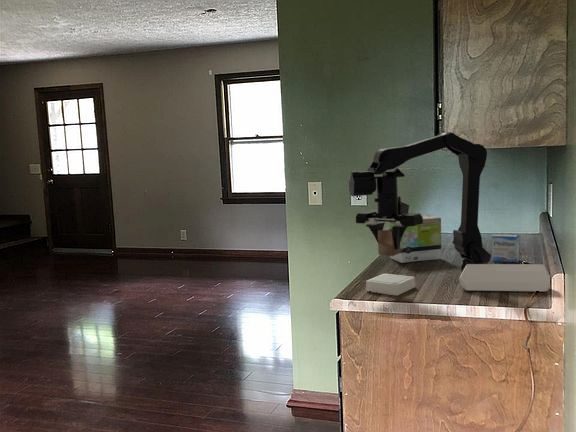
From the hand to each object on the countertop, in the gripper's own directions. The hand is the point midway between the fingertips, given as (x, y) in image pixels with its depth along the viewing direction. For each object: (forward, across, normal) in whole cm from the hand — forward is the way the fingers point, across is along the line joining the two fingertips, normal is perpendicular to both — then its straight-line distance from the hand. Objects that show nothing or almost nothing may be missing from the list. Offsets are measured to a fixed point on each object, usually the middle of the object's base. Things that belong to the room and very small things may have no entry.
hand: (389, 248), depth 169 cm
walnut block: (+2, 0, 0) cm, 2 cm away
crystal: (+12, -27, -14) cm, 33 cm away
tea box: (+12, +13, -39) cm, 43 cm away
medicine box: (+12, -15, -48) cm, 52 cm away
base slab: (+12, 0, 0) cm, 12 cm away
